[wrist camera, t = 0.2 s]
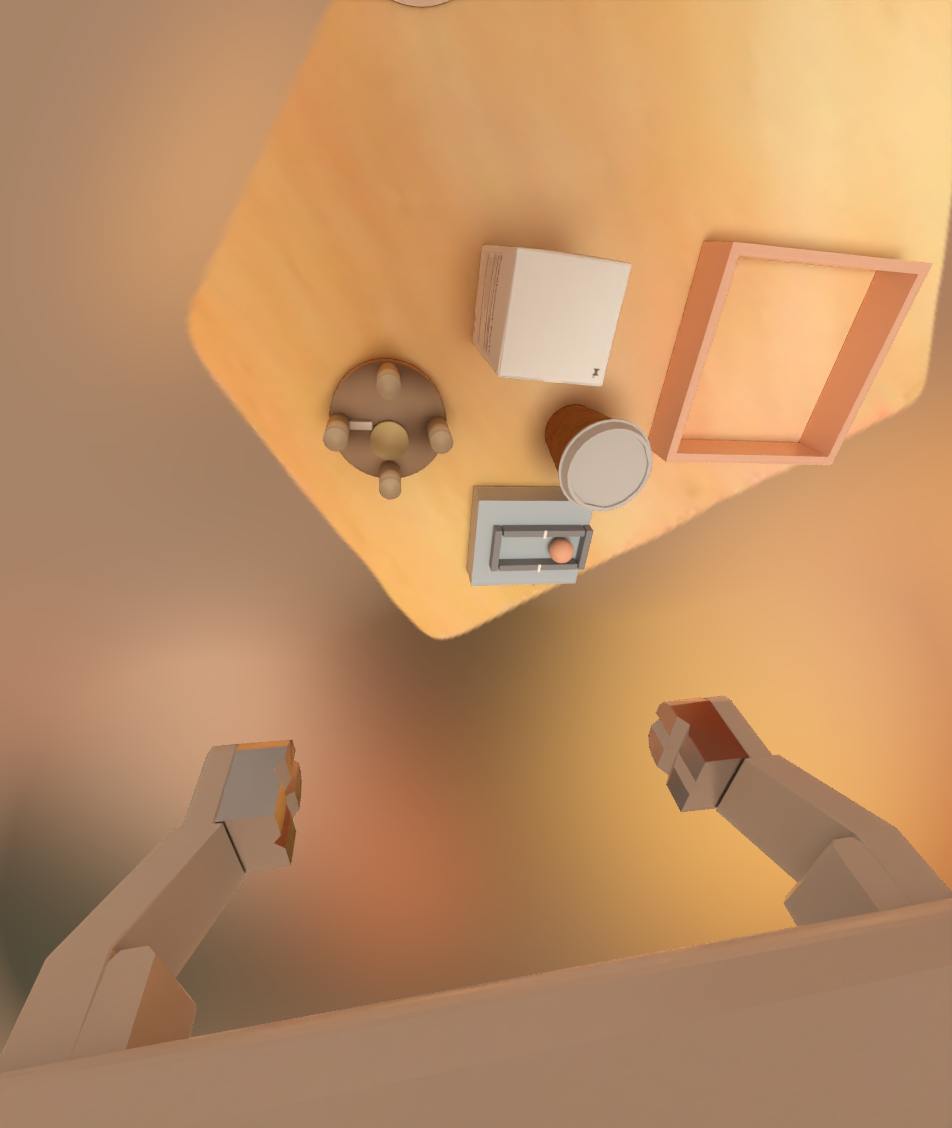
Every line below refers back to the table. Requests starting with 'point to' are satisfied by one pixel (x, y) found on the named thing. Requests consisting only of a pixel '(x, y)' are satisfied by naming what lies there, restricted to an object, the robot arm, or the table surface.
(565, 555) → the indicator ball
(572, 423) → the disposable coffee cup
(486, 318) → the supplement box
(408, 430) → the dial
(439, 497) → the table surface
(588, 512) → the stand
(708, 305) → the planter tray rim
